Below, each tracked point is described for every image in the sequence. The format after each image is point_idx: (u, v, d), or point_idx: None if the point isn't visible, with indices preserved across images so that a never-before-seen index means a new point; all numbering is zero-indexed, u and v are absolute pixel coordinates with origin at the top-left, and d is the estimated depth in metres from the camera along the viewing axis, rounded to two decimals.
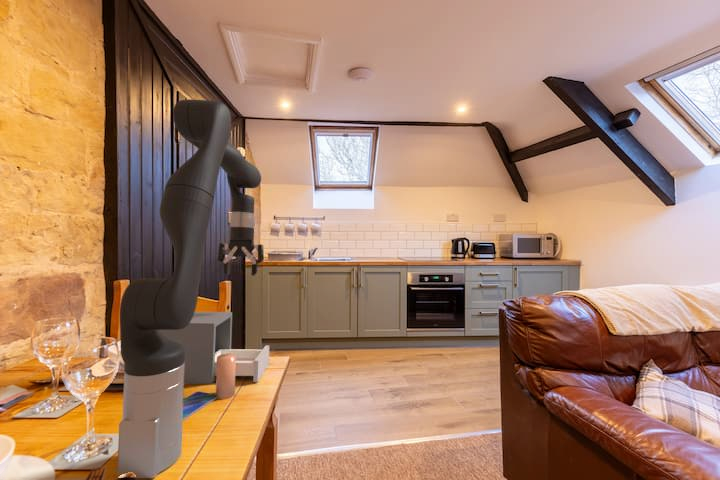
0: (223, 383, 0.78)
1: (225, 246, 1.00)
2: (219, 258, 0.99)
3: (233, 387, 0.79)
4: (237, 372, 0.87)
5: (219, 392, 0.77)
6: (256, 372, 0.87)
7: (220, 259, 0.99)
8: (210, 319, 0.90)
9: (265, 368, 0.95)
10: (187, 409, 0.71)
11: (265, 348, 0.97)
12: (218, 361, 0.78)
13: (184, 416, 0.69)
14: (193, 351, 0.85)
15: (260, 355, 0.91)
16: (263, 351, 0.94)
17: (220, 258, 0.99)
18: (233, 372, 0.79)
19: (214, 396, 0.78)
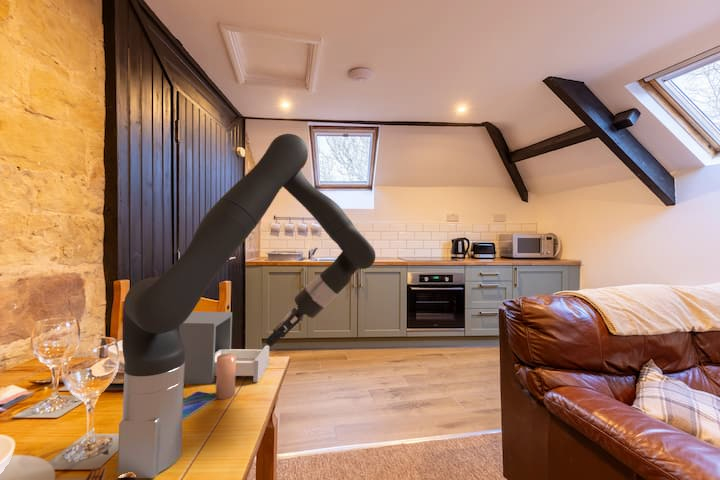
0: (223, 383, 0.78)
1: None
2: None
3: (233, 387, 0.79)
4: (237, 372, 0.87)
5: (219, 392, 0.77)
6: (256, 372, 0.87)
7: None
8: (210, 319, 0.90)
9: (265, 368, 0.95)
10: (187, 409, 0.71)
11: (265, 348, 0.97)
12: (218, 361, 0.78)
13: (184, 416, 0.69)
14: (193, 351, 0.85)
15: (260, 355, 0.91)
16: (263, 351, 0.94)
17: None
18: (233, 372, 0.79)
19: (214, 396, 0.78)
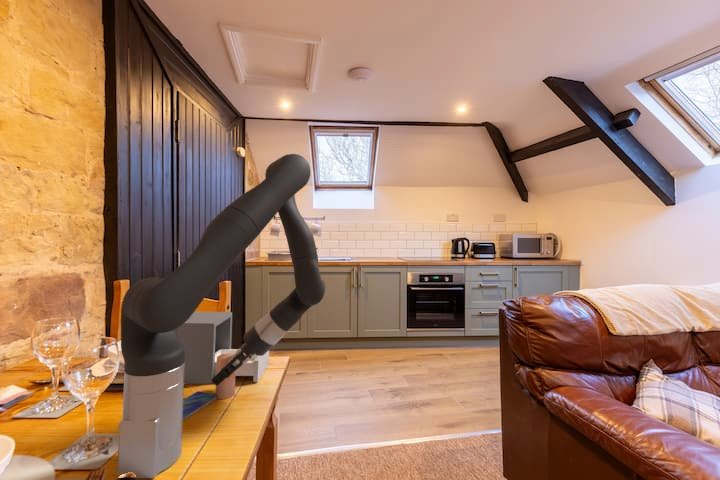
0: (223, 383, 0.77)
1: None
2: None
3: (233, 387, 0.79)
4: (237, 372, 0.87)
5: (219, 392, 0.77)
6: (256, 372, 0.87)
7: None
8: (210, 319, 0.90)
9: (265, 368, 0.95)
10: (187, 409, 0.71)
11: None
12: (218, 361, 0.78)
13: (184, 416, 0.69)
14: (193, 351, 0.85)
15: None
16: None
17: None
18: (233, 372, 0.79)
19: (214, 396, 0.78)
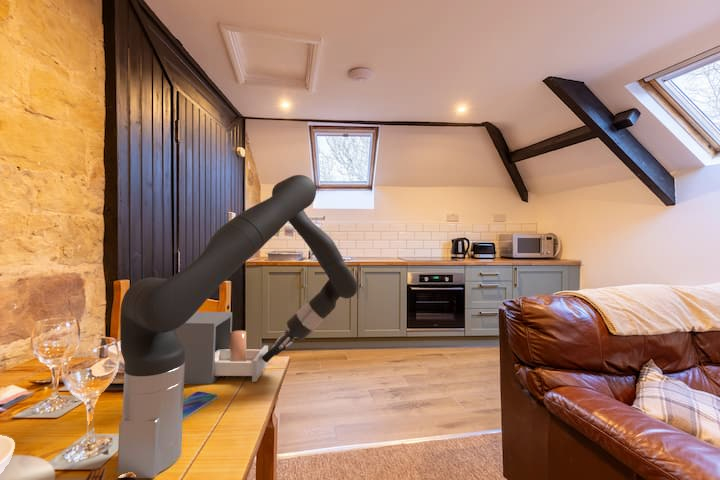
0: (237, 355, 0.90)
1: None
2: None
3: (245, 358, 0.92)
4: (236, 372, 0.87)
5: None
6: (255, 372, 0.87)
7: None
8: (210, 319, 0.90)
9: (264, 368, 0.95)
10: (187, 409, 0.71)
11: (264, 348, 0.97)
12: (231, 336, 0.90)
13: (184, 416, 0.69)
14: (193, 351, 0.85)
15: (259, 355, 0.91)
16: (262, 351, 0.94)
17: None
18: (244, 346, 0.92)
19: (214, 396, 0.78)
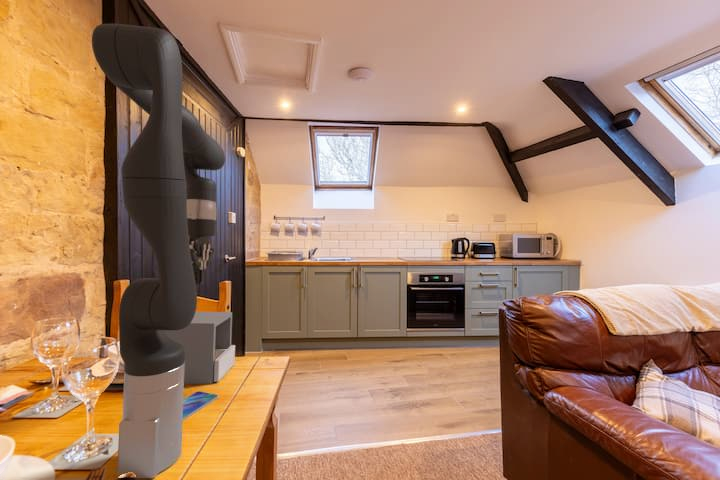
0: None
1: None
2: None
3: None
4: None
5: None
6: (217, 372, 0.86)
7: None
8: (210, 319, 0.90)
9: (229, 368, 0.95)
10: (187, 409, 0.71)
11: (230, 348, 0.96)
12: None
13: (184, 416, 0.69)
14: (193, 351, 0.85)
15: (222, 355, 0.90)
16: (227, 351, 0.93)
17: None
18: None
19: (214, 396, 0.78)
